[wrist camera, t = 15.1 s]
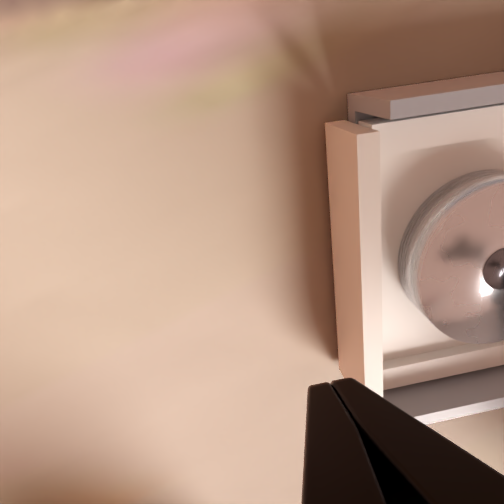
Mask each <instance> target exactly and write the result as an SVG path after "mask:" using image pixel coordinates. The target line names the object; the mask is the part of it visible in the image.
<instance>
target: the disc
mask: <svg viewBox="0 0 504 504" xmlns="http://www.w3.org/2000/svg"><path fill="white" fill-rule="evenodd" d="M398 275H399V280H400V283H401V286H402V289H403V291H404V292H405V294H406V296H407V298H408V299H409V300H410V301H411V303H412V304H413V305H414V306H415V307H416V308H417V309H418V310H419V311H420V312H421V313H422V314H423V315H424V316H425V317H426V318H427V319H428V320H429V321H430V322H431V323H432V324H433V325H434V326H435V327H436V328H437V329H439V330H440V331H441V332H442V333H444V334H445V335H447V336H448V337H450V338H453V339H455V340H457V341H461V342H465V343H471V344H488V343H496V342H500V341H504V170H494V169H489V170H480V171H475V172H471V173H468V174H465V175H462V176H459V177H457V178H455V179H453V180H451V181H449V182H448V183H446V184H445V185H443V186H442V187H440V188H439V189H438V190H436V191H435V192H434V193H433V194H431V195H430V196H429V197H428V198H427V199H426V200H425V201H424V202H423V203H422V205H421V206H420V207H419V208H418V210H417V211H416V212H415V214H414V215H413V217H412V218H411V220H410V221H409V223H408V225H407V227H406V229H405V232H404V234H403V237H402V240H401V243H400V247H399V252H398Z"/></svg>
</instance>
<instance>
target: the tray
mask: <svg viewBox="0 0 504 504" xmlns="http://www.w3.org/2000/svg"><path fill="white" fill-rule="evenodd" d="M358 122H359V124H355V123H352V122H349V121H346V120H340V121H333V122H327V123H325V136H326V153H327V170H328V187H329V204H330V221H331V238H332V255H333V272H334V289H335V306H336V323H337V340H338V358H339V370H340V371H341V373H342V375H343V377H344V378H353V379H355V380H357V381H358V382H360V383H361V384H363V385H365V386H366V387H368V388H369V389H371V390H372V391H374V392H375V393H377V394H378V395H380V396H382V397H383V390H387V389H392V388H396V387H401V386H406V385H410V384H415V383H420V382H425V381H429V380H434V379H439V378H443V377H448V376H453V375H457V374H462V373H467V372H472V371H476V370H481V369H486V368H490V367H495V366H500V365H504V341H500V342H496V343H488V344H471V343H465V342H461V341H457V340H455V339H453V338H450V337H448V336H447V335H445V334H444V333H442V332H441V331H440V330H439V329H437V328H436V327H435V326H434V325H433V324H432V323H431V322H430V321H429V320H428V319H427V318H426V317H425V316H424V315H423V314H422V313H421V312H420V311H419V310H418V309H417V308H416V307H415V306H414V305H413V304H412V303H411V301H410V300H409V299H408V298H407V296H406V294H405V292H404V291H403V289H402V286H401V283H400V280H399V275H398V252H399V247H400V243H401V240H402V237H403V234H404V232H405V229H406V227H407V225H408V223H409V221H410V220H411V218H412V217H413V215H414V214H415V212H416V211H417V210H418V208H419V207H420V206H421V205H422V203H423V202H424V201H425V200H426V199H427V198H428V197H429V196H430V195H431V194H433V193H434V192H435V191H436V190H438V189H439V188H440V187H442V186H443V185H445V184H446V183H448V182H449V181H451V180H453V179H455V178H457V177H459V176H462V175H465V174H468V173H471V172H475V171H480V170H489V169H494V170H504V103H498V104H491V105H485V106H478V107H472V108H465V109H459V110H452V111H445V112H439V113H432V114H426V115H419V116H412V117H406V118H399V119H393V120H389V119H385V118H375V119H368V120H362V121H358Z"/></svg>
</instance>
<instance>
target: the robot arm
mask: <svg viewBox="0 0 504 504" xmlns="http://www.w3.org/2000/svg"><path fill="white" fill-rule="evenodd" d="M302 504H504V475H502V474H500V473H499V472H497V471H496V470H494V469H493V468H491V467H490V466H488V465H487V464H485V463H483V462H482V461H480V460H479V459H477V458H476V457H474V456H473V455H471V454H470V453H468V452H467V451H465V450H463V449H462V448H460V447H459V446H457V445H456V444H454V443H453V442H451V441H450V440H448V439H446V438H445V437H443V436H442V435H440V434H439V433H437V432H436V431H434V430H433V429H431V428H429V427H428V426H426V425H425V424H423V423H422V422H420V421H419V420H417V419H416V418H414V417H412V416H411V415H409V414H408V413H406V412H405V411H403V410H402V409H400V408H399V407H397V406H395V405H394V404H392V403H391V402H389V401H388V400H386V399H385V398H383V397H382V396H380V395H378V394H377V393H375V392H374V391H372V390H371V389H369V388H368V387H366V386H365V385H363V384H361V383H360V382H358V381H357V380H355V379H353V378H344V379H339V380H334V381H332V382H331V384H330V383H327V382H325V383H320V384H315V385H311V386H309V388H308V395H307V414H306V432H305V450H304V469H303V487H302Z"/></svg>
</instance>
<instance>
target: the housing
mask: <svg viewBox="0 0 504 504" xmlns="http://www.w3.org/2000/svg"><path fill="white" fill-rule="evenodd" d="M347 103H348V121H349V122H352V123H355V124H359V122H358V121H362V120H368V119H375V118H385V119H389V120H393V119H399V118H406V117H412V116H419V115H426V114H432V113H439V112H445V111H452V110H459V109H465V108H472V107H478V106H485V105H491V104H498V103H504V71H501V72H494V73H487V74H480V75H473V76H466V77H459V78H453V79H446V80H439V81H432V82H425V83H418V84H411V85H404V86H397V87H390V88H383V89H376V90H370V91H363V92H356V93H349V94H347ZM383 398H385V399H386V400H388V401H389V402H391V403H392V404H394V405H395V406H397V407H399V408H400V409H402V410H403V411H405V412H406V413H408V414H409V415H411V416H412V417H414V418H416V419H417V420H419V421H420V422H422V423H423V424H425V425H428V424H432V423H437V422H441V421H446V420H450V419H454V418H459V417H463V416H468V415H472V414H477V413H481V412H486V411H490V410H495V409H499V408H504V365H500V366H495V367H490V368H486V369H481V370H476V371H472V372H467V373H462V374H457V375H453V376H448V377H443V378H439V379H434V380H429V381H425V382H420V383H415V384H410V385H406V386H401V387H396V388H392V389H387V390H383Z"/></svg>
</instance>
